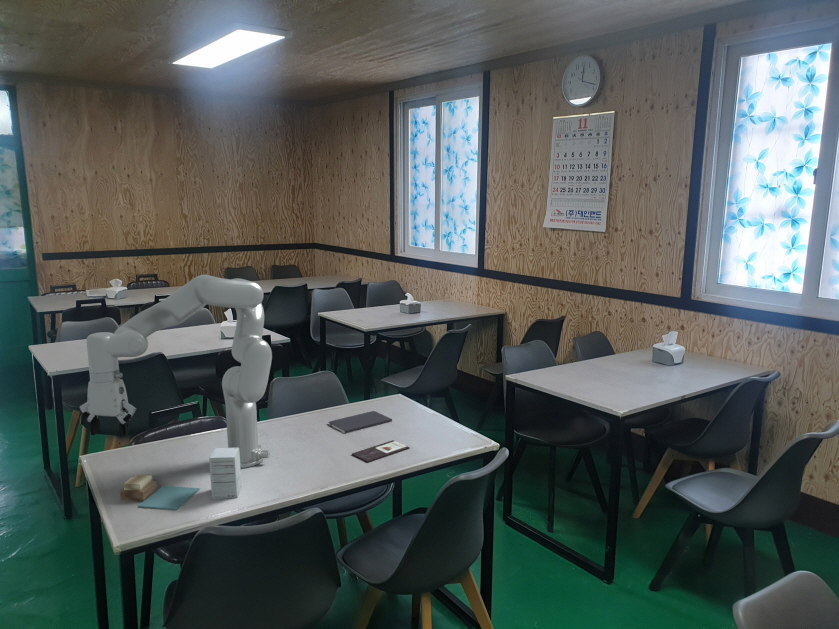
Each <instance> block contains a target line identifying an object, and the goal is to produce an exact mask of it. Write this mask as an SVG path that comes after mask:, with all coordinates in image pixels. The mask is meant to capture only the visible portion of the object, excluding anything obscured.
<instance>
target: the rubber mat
mask: <svg viewBox="0 0 839 629" xmlns="http://www.w3.org/2000/svg"><path fill="white" fill-rule="evenodd" d="M200 489H201V488H200V487H198V488H197V487H189V486H188V487H186V486H174V485H172V486H171V485H162V486H161V487H160V488H157V491H156V492H155V493H153V494H152V495H151V496H150V497H148V498H147V499H146V500H145V501H143V502H140V503H139V505H137V508H142V509H155V510H156V509H157V510H168V511H178V510H180V508H181V507H182V506H184V505H185V504H186V503H187V501H189V500H190V499H191V498H192V497H193V496H194V495H196V493H198V492H199V491H200Z"/></svg>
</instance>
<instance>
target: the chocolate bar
mask: <svg viewBox="0 0 839 629" xmlns="http://www.w3.org/2000/svg"><path fill="white" fill-rule="evenodd" d="M407 450H410V446H407V445H405V444H403V443H400V442H397V441H396V440H393V439H392V440H389V441H386V442H384V443H381V444H376V445H374V446H370V447H367V448H365V449H364V448H363V449H362V450H358V451H356V452H353V453H351V456H353V457H355V458H356V459H358V460H360V461H363V462H364V463H367V464H370V463H372V462H375V461H378V460H381V459H383V458H387V457H389V456H392V455H395V454H398V453H401V452H405V451H407Z"/></svg>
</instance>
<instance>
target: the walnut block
mask: <svg viewBox="0 0 839 629" xmlns="http://www.w3.org/2000/svg"><path fill="white" fill-rule="evenodd" d="M157 490H158V484H157V481H156V480H152V483H150V484H149V485H148V486H146V487H145V488H144V489H143V490H141V491H133V490H124V487H123V488H121V489H120V490H119V492H120V494H119V495H120V500H121V501H126V502H127V501H128V502H140V503H142V502H143V501H145V500H146V499H147V498H148V497H150V496H151V495H152V494H153V493H155V492H156V491H157Z"/></svg>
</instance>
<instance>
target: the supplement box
mask: <svg viewBox="0 0 839 629" xmlns="http://www.w3.org/2000/svg"><path fill="white" fill-rule="evenodd" d="M208 460H209V475H210V477H209V478H210V489H211V498H212V499H214V500H215V499H216V500H217V499H220V500H221V499H237V498H239V494H240V491H241V489H242V487H243V486H242V474H241V472H242V470H241V469H242V468H240V453H239V448H228V447H221V448H220V447H219V448H217V447H216V448H213V451H212V453H211V455H210V457H209V459H208Z"/></svg>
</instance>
